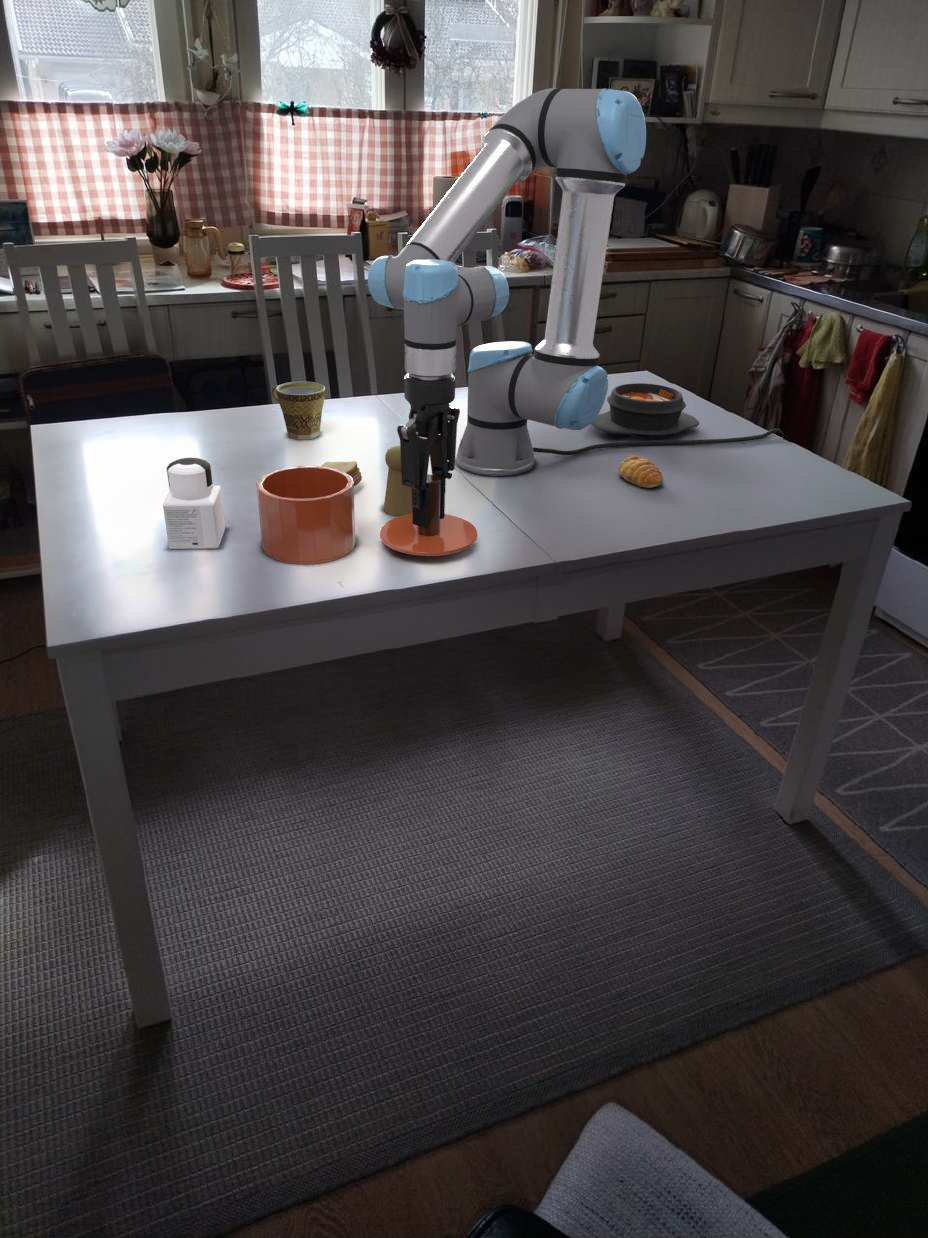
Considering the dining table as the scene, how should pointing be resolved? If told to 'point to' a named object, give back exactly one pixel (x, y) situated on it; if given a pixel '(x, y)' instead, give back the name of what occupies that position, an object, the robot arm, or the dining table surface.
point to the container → (193, 506)
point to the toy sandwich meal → (346, 469)
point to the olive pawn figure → (396, 486)
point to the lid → (429, 530)
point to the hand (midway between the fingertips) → (428, 520)
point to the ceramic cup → (301, 408)
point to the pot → (306, 514)
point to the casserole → (645, 411)
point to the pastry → (640, 472)
